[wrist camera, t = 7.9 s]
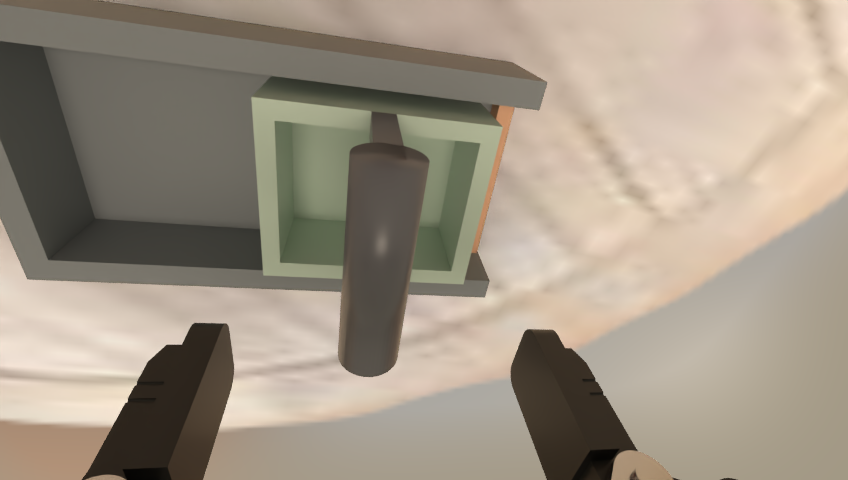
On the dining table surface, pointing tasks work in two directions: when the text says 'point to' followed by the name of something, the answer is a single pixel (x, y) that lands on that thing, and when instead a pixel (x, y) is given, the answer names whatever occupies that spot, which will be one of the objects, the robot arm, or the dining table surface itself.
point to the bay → (181, 137)
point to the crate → (369, 198)
